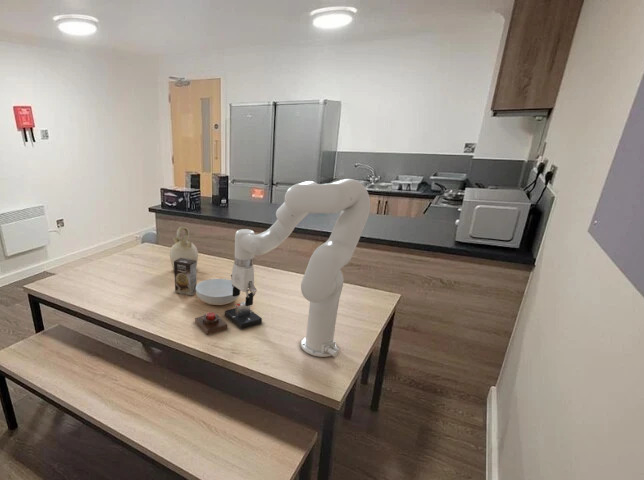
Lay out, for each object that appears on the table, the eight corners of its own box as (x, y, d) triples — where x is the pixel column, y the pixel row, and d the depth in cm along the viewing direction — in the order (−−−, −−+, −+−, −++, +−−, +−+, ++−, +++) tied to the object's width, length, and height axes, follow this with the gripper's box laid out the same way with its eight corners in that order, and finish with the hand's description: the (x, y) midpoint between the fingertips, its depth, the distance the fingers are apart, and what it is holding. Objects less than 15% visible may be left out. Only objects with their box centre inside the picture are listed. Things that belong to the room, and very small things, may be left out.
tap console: (261, 323, 154) (262, 317, 153) (240, 329, 150) (240, 323, 149) (244, 310, 165) (244, 305, 164) (224, 316, 160) (224, 310, 159)
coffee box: (174, 292, 183) (172, 261, 176) (181, 287, 188) (180, 257, 181) (190, 296, 179) (189, 264, 172) (197, 291, 184) (196, 259, 178)
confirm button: (216, 318, 151) (216, 315, 150) (208, 321, 149) (208, 317, 148) (212, 315, 154) (212, 311, 153) (204, 317, 152) (204, 313, 151)
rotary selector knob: (247, 311, 158) (248, 300, 156) (250, 313, 157) (250, 302, 155) (235, 315, 156) (235, 303, 154) (238, 317, 154) (238, 305, 152)
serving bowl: (248, 296, 178) (248, 283, 175) (227, 315, 161) (227, 300, 158) (210, 287, 187) (210, 274, 185) (186, 304, 171) (186, 290, 168)
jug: (166, 268, 213) (164, 225, 203) (192, 263, 218) (190, 221, 209) (176, 277, 200) (173, 231, 190) (202, 272, 206) (201, 228, 196)
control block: (227, 329, 150) (227, 320, 149) (207, 334, 146) (207, 325, 145) (214, 317, 159) (214, 309, 158) (195, 322, 155) (194, 314, 154)
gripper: (224, 256, 152) (223, 294, 159) (248, 270, 138) (246, 311, 145) (240, 253, 156) (239, 290, 163) (264, 266, 142) (262, 307, 149)
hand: (242, 300), depth 154 cm, fingers open, 9 cm apart
